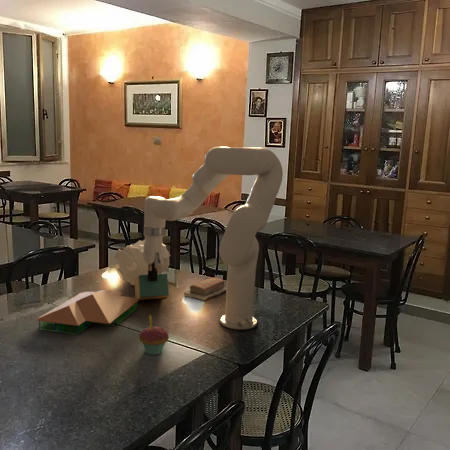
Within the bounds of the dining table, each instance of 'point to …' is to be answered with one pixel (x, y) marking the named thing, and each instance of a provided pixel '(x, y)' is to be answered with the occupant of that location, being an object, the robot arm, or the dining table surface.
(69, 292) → the dining table surface
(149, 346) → the cupcake
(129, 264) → the spiral staircase
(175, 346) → the dining table surface
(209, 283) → the packaged product
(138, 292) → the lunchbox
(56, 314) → the house
